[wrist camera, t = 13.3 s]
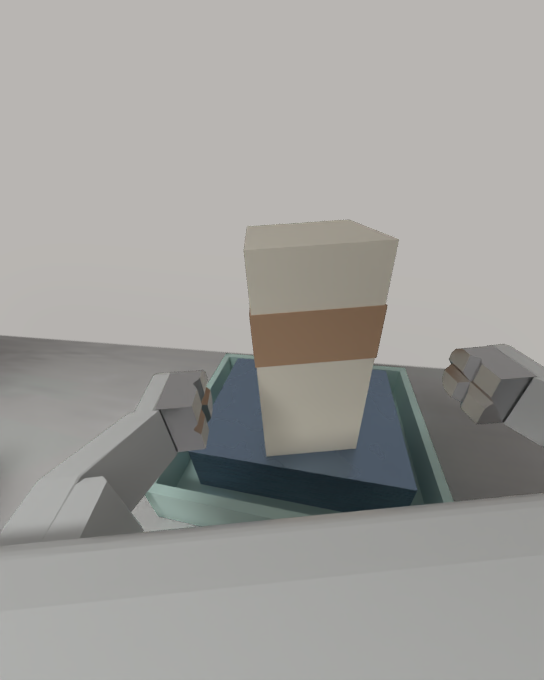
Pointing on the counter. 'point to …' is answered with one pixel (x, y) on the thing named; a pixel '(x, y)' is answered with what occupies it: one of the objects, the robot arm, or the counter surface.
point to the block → (306, 468)
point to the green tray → (234, 507)
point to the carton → (315, 328)
